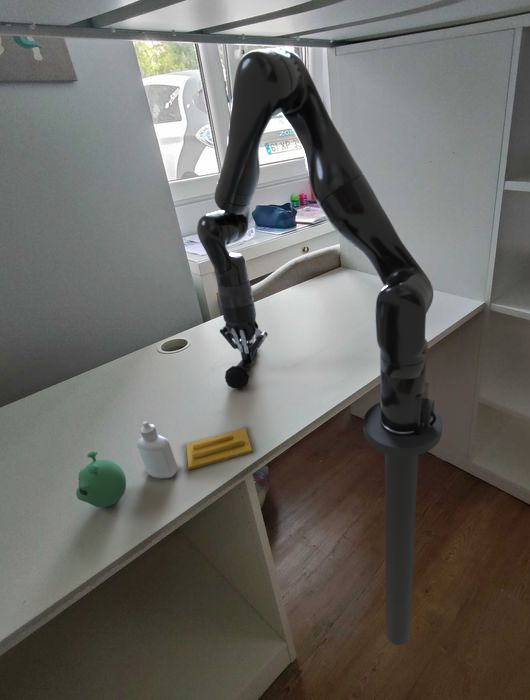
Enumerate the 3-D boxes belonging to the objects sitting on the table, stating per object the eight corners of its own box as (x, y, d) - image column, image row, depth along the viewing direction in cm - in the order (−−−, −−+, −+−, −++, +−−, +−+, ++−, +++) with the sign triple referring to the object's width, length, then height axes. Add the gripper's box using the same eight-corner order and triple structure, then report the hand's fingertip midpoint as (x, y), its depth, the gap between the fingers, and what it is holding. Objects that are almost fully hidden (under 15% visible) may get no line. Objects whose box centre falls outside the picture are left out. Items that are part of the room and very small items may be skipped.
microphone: (252, 360, 122) (228, 396, 104) (243, 342, 120) (217, 375, 102) (269, 354, 121) (248, 390, 102) (261, 336, 119) (238, 368, 100)
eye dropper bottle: (159, 486, 80) (140, 435, 74) (145, 471, 83) (126, 422, 77) (181, 472, 83) (164, 422, 77) (166, 458, 86) (149, 409, 80)
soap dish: (246, 430, 92) (244, 424, 91) (252, 451, 86) (250, 446, 86) (186, 446, 89) (185, 440, 88) (188, 469, 83) (187, 464, 82)
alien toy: (83, 497, 79) (62, 455, 74) (129, 479, 82) (112, 438, 77) (85, 525, 74) (63, 482, 68) (134, 505, 77) (116, 463, 71)
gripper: (203, 302, 102) (218, 366, 110) (251, 310, 96) (263, 376, 105) (223, 290, 107) (236, 352, 116) (269, 296, 102) (279, 360, 111)
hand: (249, 363), depth 110 cm, fingers closed
